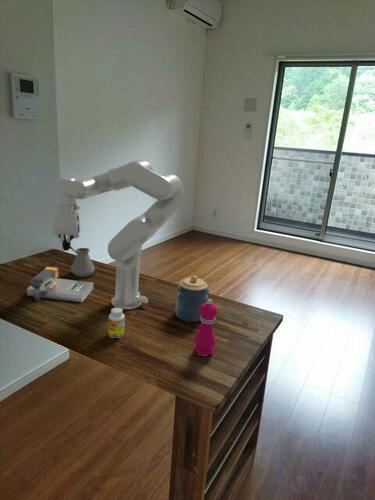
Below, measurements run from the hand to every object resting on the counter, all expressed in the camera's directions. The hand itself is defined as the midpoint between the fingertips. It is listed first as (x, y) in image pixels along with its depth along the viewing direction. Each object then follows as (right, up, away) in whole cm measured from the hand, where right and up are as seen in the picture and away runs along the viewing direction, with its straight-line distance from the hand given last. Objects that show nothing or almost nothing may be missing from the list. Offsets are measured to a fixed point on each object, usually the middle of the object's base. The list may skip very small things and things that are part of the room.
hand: (66, 249), depth 159 cm
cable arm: (-10, -14, +1) cm, 17 cm away
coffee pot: (-4, -11, +28) cm, 31 cm away
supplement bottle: (+26, -31, -25) cm, 47 cm away
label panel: (-4, -19, +5) cm, 20 cm away
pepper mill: (+57, -36, -30) cm, 74 cm away
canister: (+53, -27, -5) cm, 60 cm away
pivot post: (-11, -21, -4) cm, 24 cm away
